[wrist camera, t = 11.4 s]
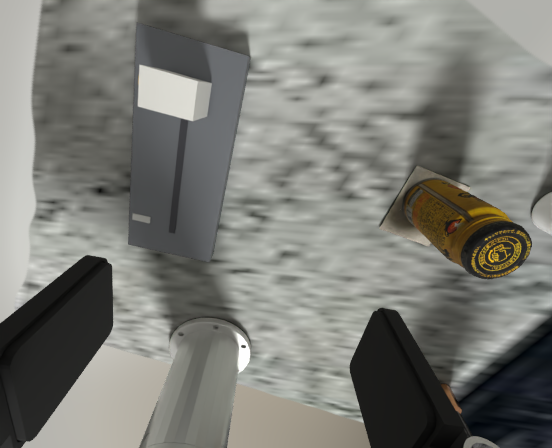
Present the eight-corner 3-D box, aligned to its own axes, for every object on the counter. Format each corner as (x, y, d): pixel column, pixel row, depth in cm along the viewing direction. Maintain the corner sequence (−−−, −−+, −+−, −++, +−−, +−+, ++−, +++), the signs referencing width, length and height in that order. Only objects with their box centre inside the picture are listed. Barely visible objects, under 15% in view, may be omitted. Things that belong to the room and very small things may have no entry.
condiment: (469, 186, 32) (565, 234, 22) (427, 245, 36) (492, 312, 25) (415, 164, 31) (488, 202, 21) (378, 227, 35) (423, 288, 24)
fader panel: (213, 254, 37) (209, 262, 35) (135, 236, 36) (127, 244, 34) (250, 58, 27) (248, 55, 25) (146, 27, 26) (136, 22, 24)
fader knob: (207, 116, 27) (192, 121, 23) (161, 104, 27) (137, 106, 22) (211, 83, 26) (197, 81, 21) (164, 69, 25) (139, 64, 21)
